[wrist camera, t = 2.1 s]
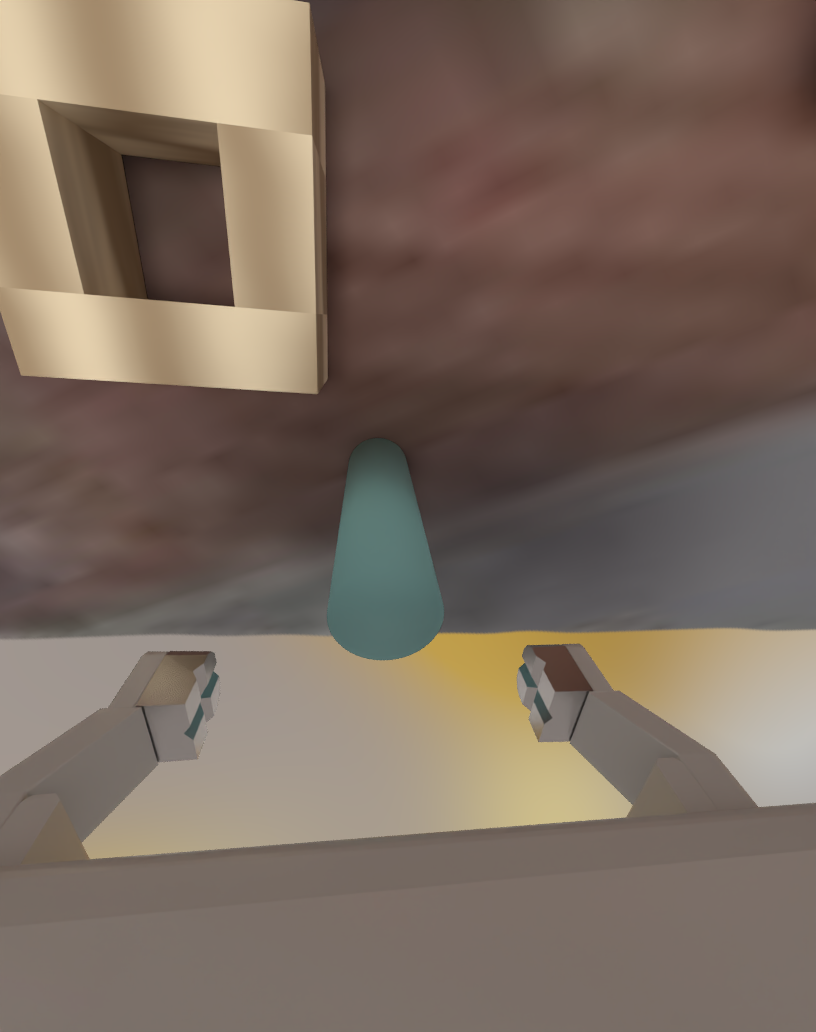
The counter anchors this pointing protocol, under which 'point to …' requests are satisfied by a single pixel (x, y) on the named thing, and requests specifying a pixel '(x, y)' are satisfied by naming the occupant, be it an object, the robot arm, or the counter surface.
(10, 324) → the socket block
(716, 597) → the counter surface
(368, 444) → the peg
